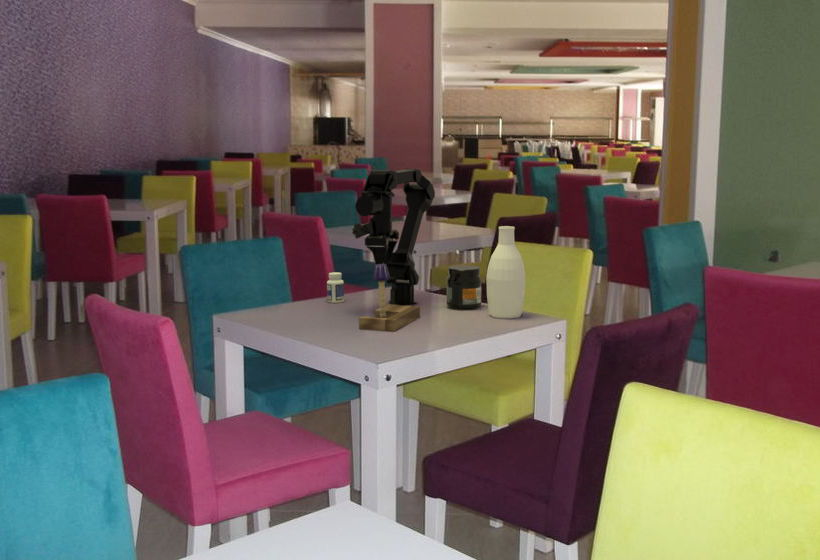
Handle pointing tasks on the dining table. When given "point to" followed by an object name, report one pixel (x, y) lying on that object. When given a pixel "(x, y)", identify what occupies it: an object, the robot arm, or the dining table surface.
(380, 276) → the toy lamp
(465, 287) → the supplement container
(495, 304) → the bottle
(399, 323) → the notched board
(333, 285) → the pill bottle
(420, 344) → the dining table surface
